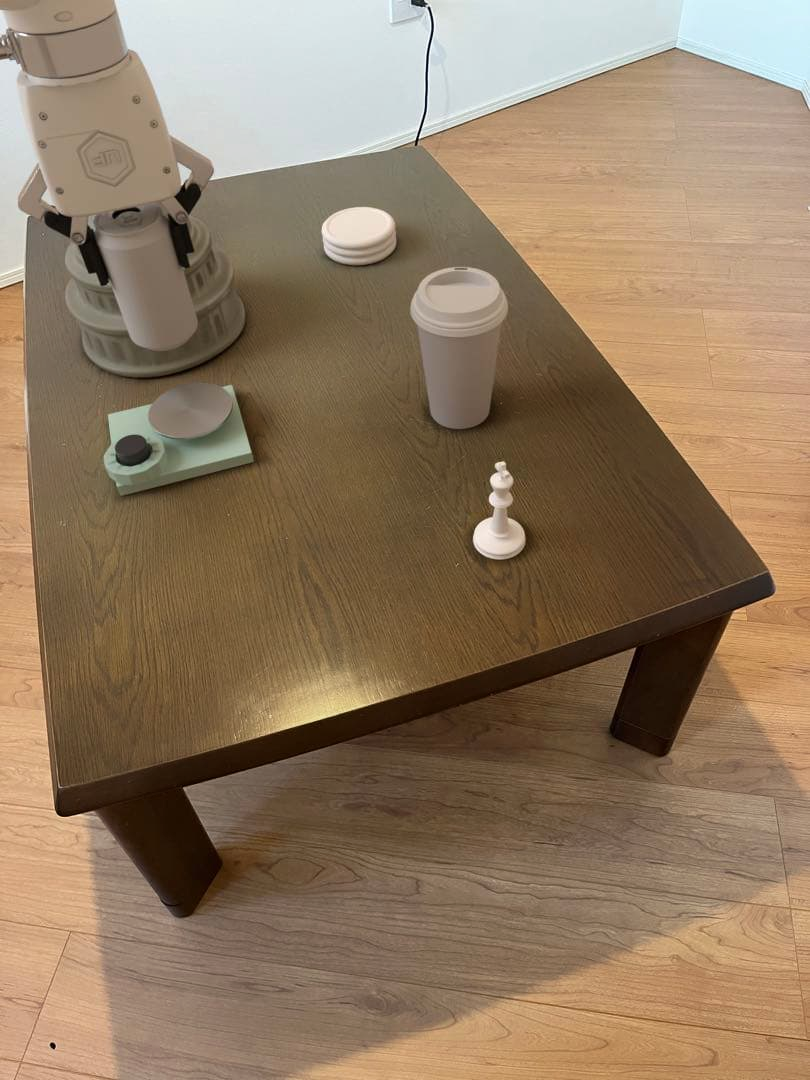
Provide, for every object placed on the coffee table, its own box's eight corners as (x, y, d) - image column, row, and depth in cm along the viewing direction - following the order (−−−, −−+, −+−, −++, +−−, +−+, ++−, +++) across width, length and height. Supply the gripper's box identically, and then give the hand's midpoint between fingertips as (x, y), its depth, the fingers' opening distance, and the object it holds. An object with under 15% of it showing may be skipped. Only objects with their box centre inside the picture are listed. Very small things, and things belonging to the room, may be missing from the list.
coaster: (310, 256, 114) (306, 232, 111) (350, 222, 119) (348, 199, 116) (371, 274, 110) (368, 249, 107) (410, 238, 115) (408, 214, 113)
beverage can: (189, 308, 81) (154, 188, 72) (208, 342, 77) (174, 220, 68) (125, 327, 80) (81, 208, 71) (141, 363, 76) (97, 241, 67)
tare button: (120, 470, 84) (115, 458, 83) (118, 449, 86) (113, 438, 85) (152, 462, 84) (147, 450, 83) (149, 442, 87) (144, 430, 85)
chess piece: (490, 567, 76) (492, 491, 69) (463, 532, 79) (463, 456, 72) (535, 546, 78) (543, 470, 70) (507, 513, 81) (511, 436, 73)
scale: (115, 501, 85) (106, 480, 83) (106, 424, 93) (97, 404, 91) (255, 465, 87) (249, 444, 85) (234, 394, 95) (229, 372, 93)
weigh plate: (153, 448, 85) (152, 446, 85) (144, 395, 91) (143, 393, 91) (239, 427, 87) (239, 424, 86) (225, 376, 92) (224, 374, 92)
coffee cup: (517, 395, 92) (524, 274, 81) (481, 449, 87) (483, 327, 75) (440, 373, 95) (436, 254, 84) (400, 423, 90) (391, 304, 79)
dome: (210, 144, 81) (-3, 186, 77) (260, 355, 100) (90, 396, 96) (181, 71, 93) (-3, 106, 90) (230, 271, 112) (79, 305, 109)
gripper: (-57, 85, 56) (45, 313, 70) (198, 42, 59) (248, 270, 72) (-51, 48, 61) (43, 268, 74) (185, 9, 63) (234, 229, 77)
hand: (144, 267), depth 73 cm, fingers closed on beverage can, 6 cm apart
